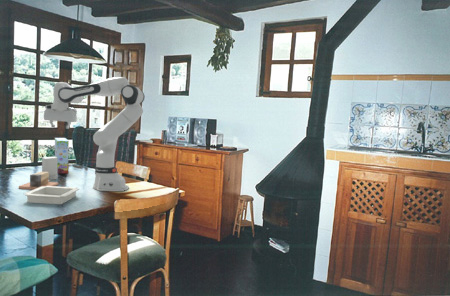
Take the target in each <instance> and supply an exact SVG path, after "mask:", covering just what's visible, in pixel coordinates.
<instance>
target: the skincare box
mask: <svg viewBox="0 0 450 296" xmlns="http://www.w3.org/2000/svg"><path fill="white" fill-rule="evenodd" d="M57 164H58V158H57V157H55V156H46V157H45V156H44V157H41V172H49V181H53V180H58V174H57Z"/></svg>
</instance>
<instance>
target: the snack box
mask: <svg viewBox="0 0 450 296" xmlns="http://www.w3.org/2000/svg"><path fill="white" fill-rule="evenodd" d="M69 143H70V142H69V140H68V139H67V138H66V137H54V157H57V158H58V164H57V175H58V174H69Z"/></svg>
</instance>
